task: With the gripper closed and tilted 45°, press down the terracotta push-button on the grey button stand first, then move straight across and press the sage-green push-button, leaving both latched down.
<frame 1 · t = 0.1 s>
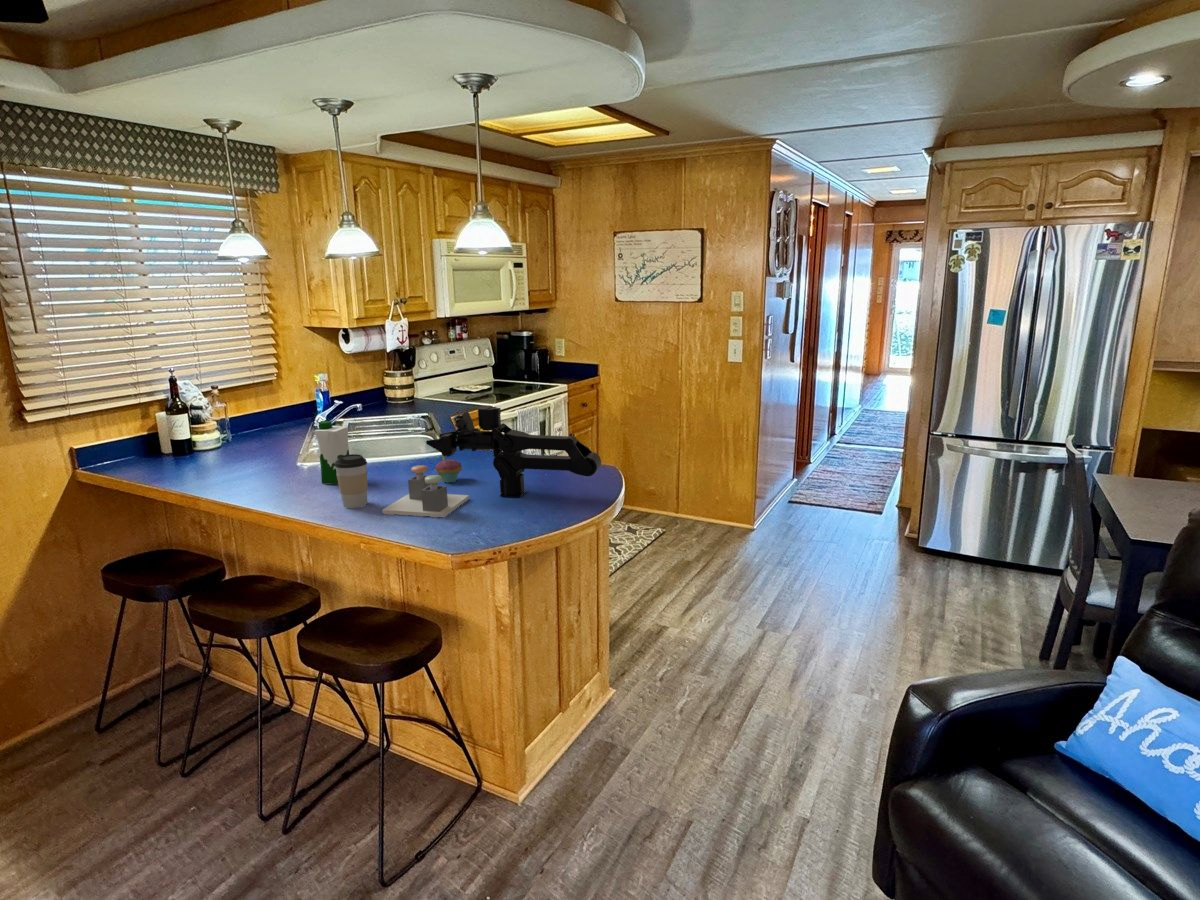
hand: (433, 438, 214), 17 cm above the countertop, tool horizontal, fingers open, 9 cm apart
sage button: (434, 489, 195), point 7 cm above the countertop, slide at 0.0 cm
terracotta button: (420, 478, 206), point 7 cm above the countertop, slide at 0.0 cm
cupcake: (449, 481, 227), on the countertop
coffee cup: (355, 505, 205), on the countertop
grey button stand: (427, 506, 202), on the countertop
milk carton: (337, 481, 229), on the countertop
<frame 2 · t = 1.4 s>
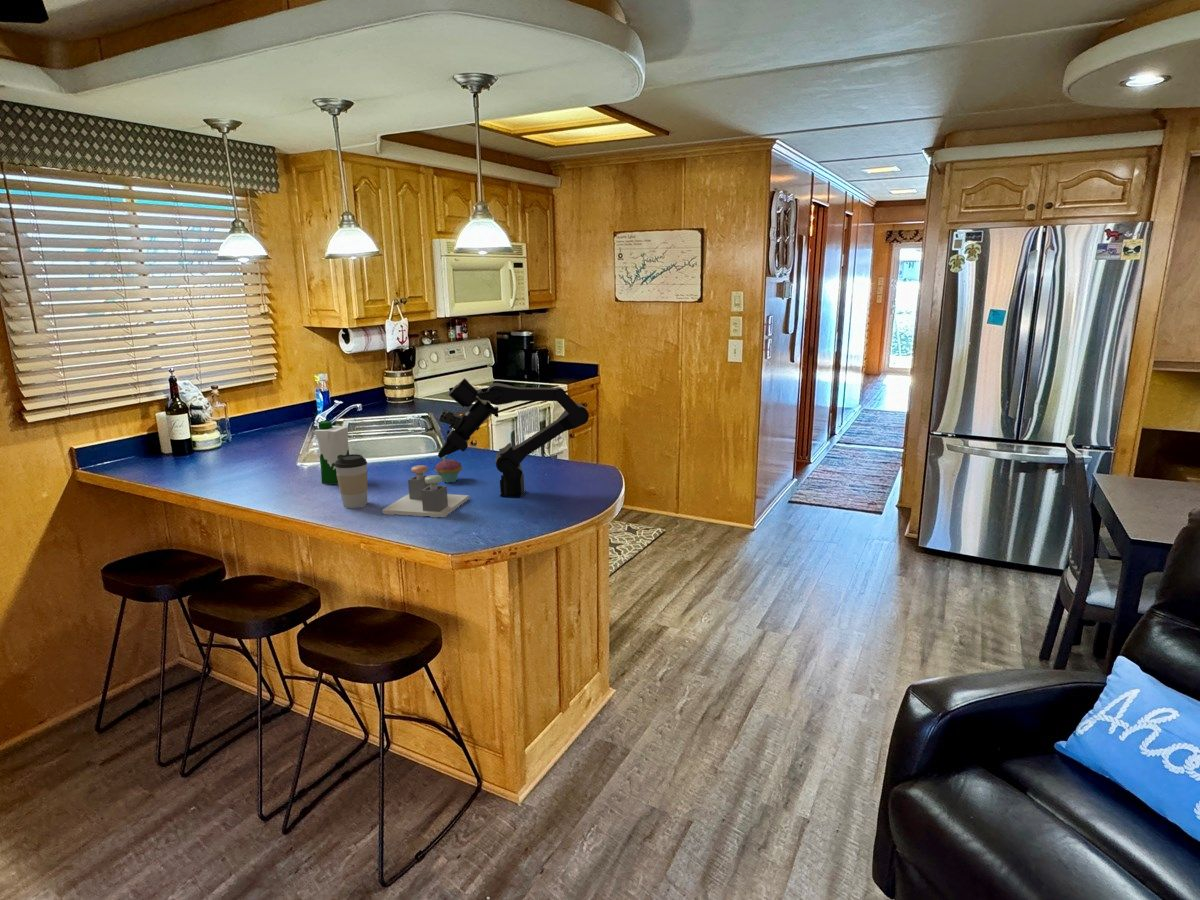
hand: (439, 456, 205), 13 cm above the countertop, tool tilted 45°, fingers closed
nothing on the countertop moved.
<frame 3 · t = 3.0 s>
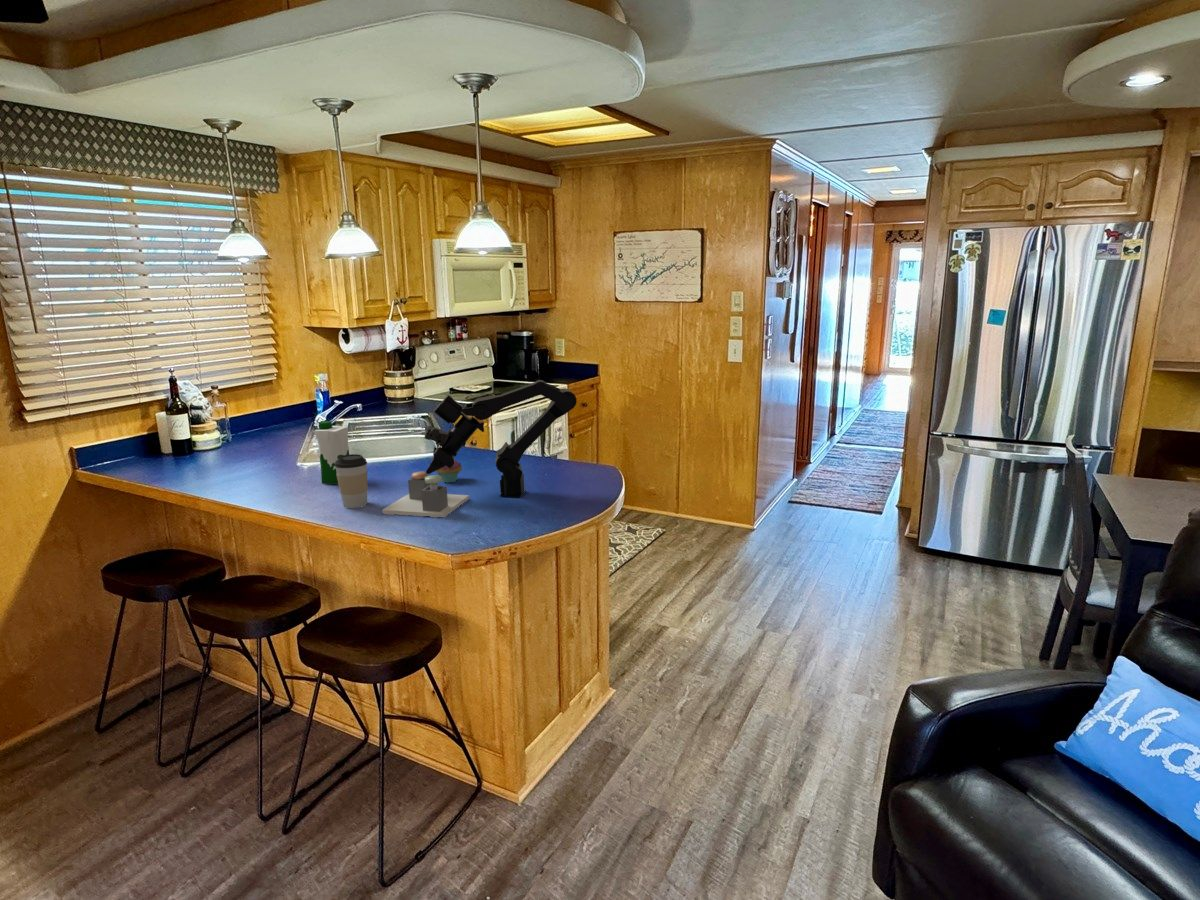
hand: (427, 473, 206), 9 cm above the countertop, tool tilted 40°, fingers closed, pressing on terracotta button
terracotta button: (420, 484, 206), point 5 cm above the countertop, slide at 1.9 cm, touching gripper
everything else where it was.
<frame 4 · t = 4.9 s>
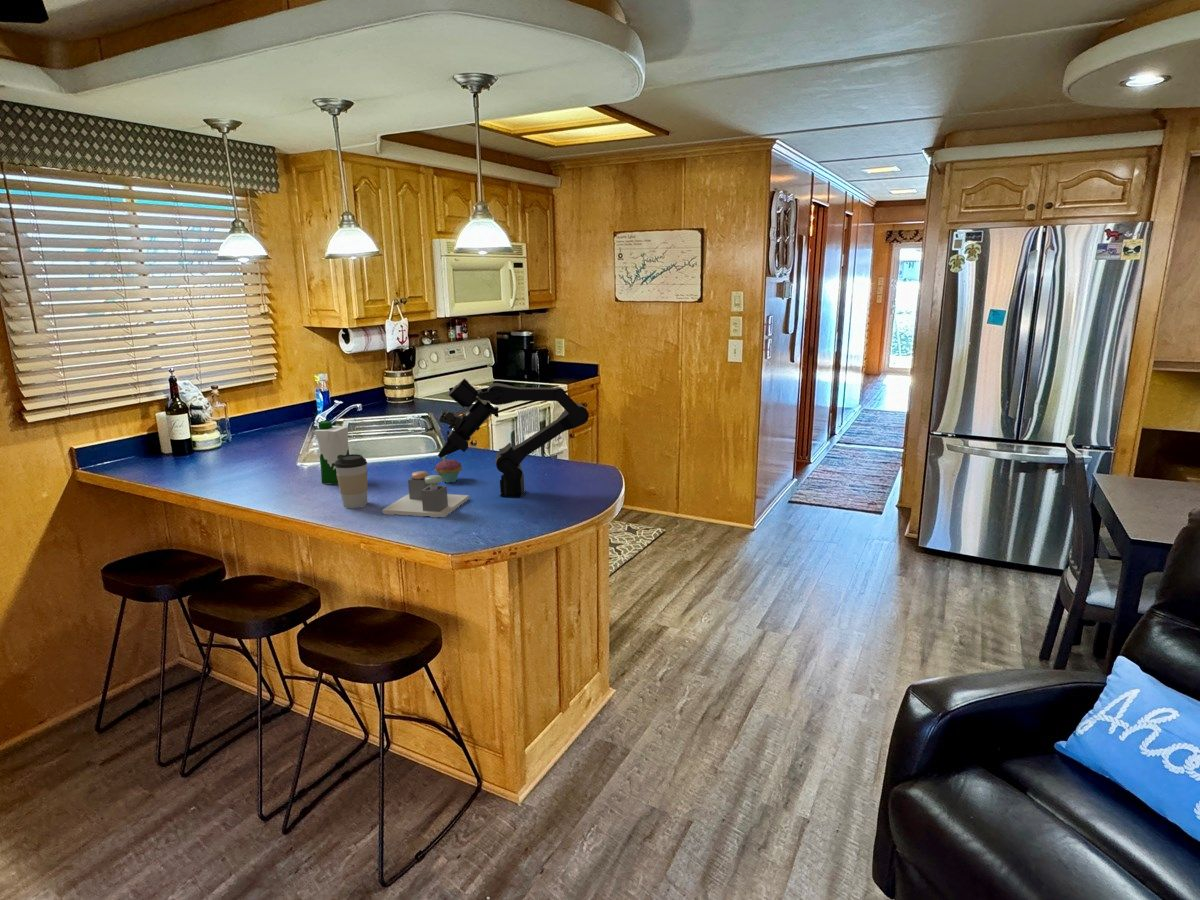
hand: (439, 456, 205), 13 cm above the countertop, tool tilted 45°, fingers closed
terracotta button: (420, 484, 206), point 5 cm above the countertop, slide at 1.8 cm
everything else where it was.
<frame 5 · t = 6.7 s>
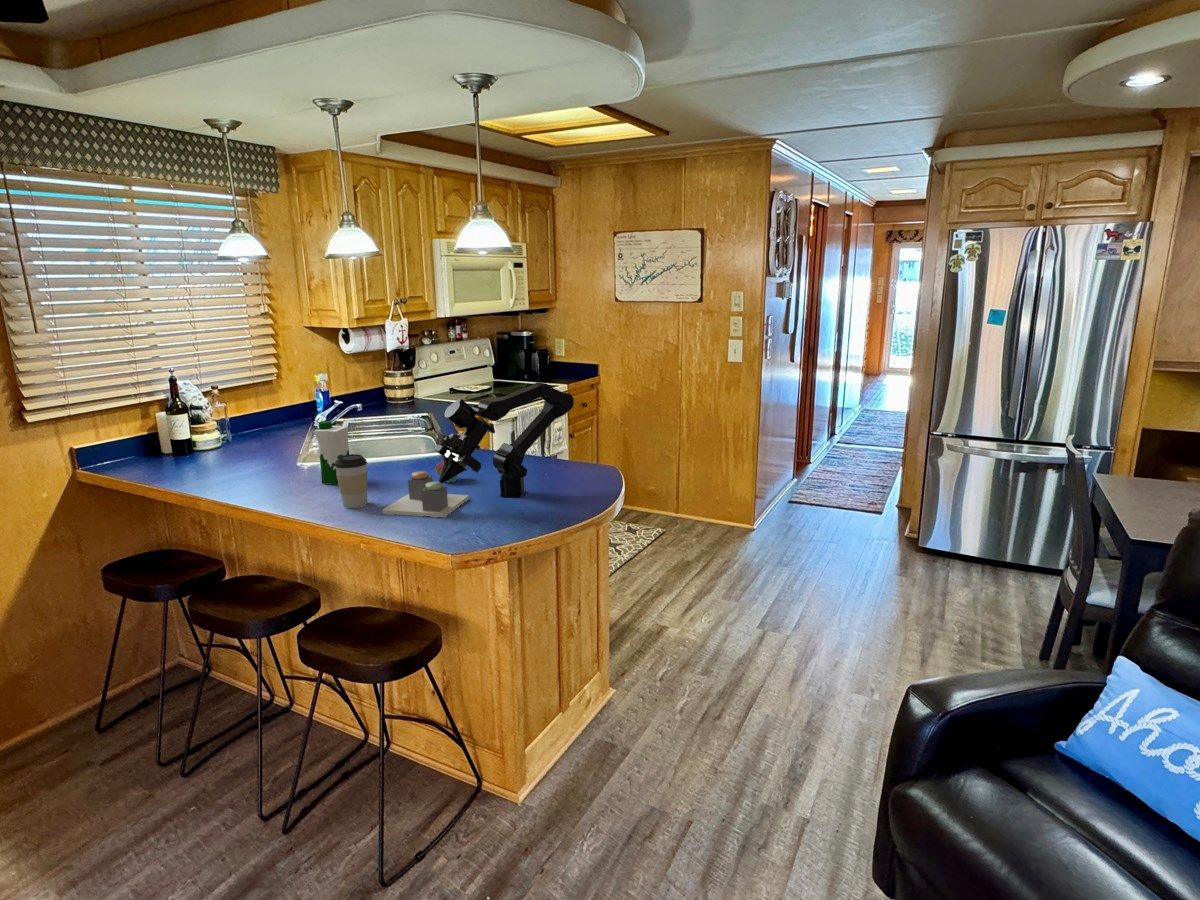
hand: (440, 482, 196), 8 cm above the countertop, tool tilted 40°, fingers closed, pressing on sage button
sage button: (434, 495, 196), point 5 cm above the countertop, slide at 1.9 cm, touching gripper
everything else where it was.
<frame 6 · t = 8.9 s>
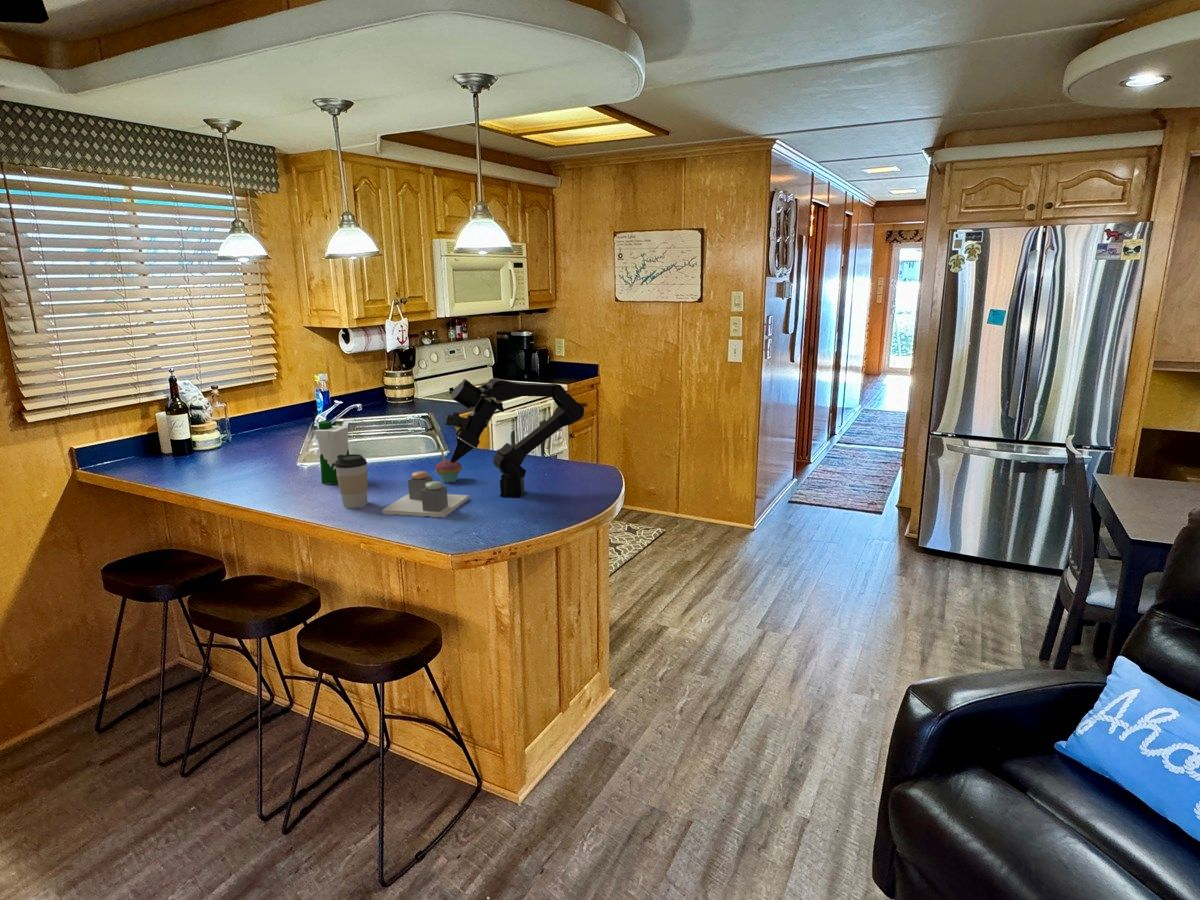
hand: (451, 462, 201), 13 cm above the countertop, tool tilted 35°, fingers closed
sage button: (434, 495, 195), point 5 cm above the countertop, slide at 1.8 cm
everything else where it was.
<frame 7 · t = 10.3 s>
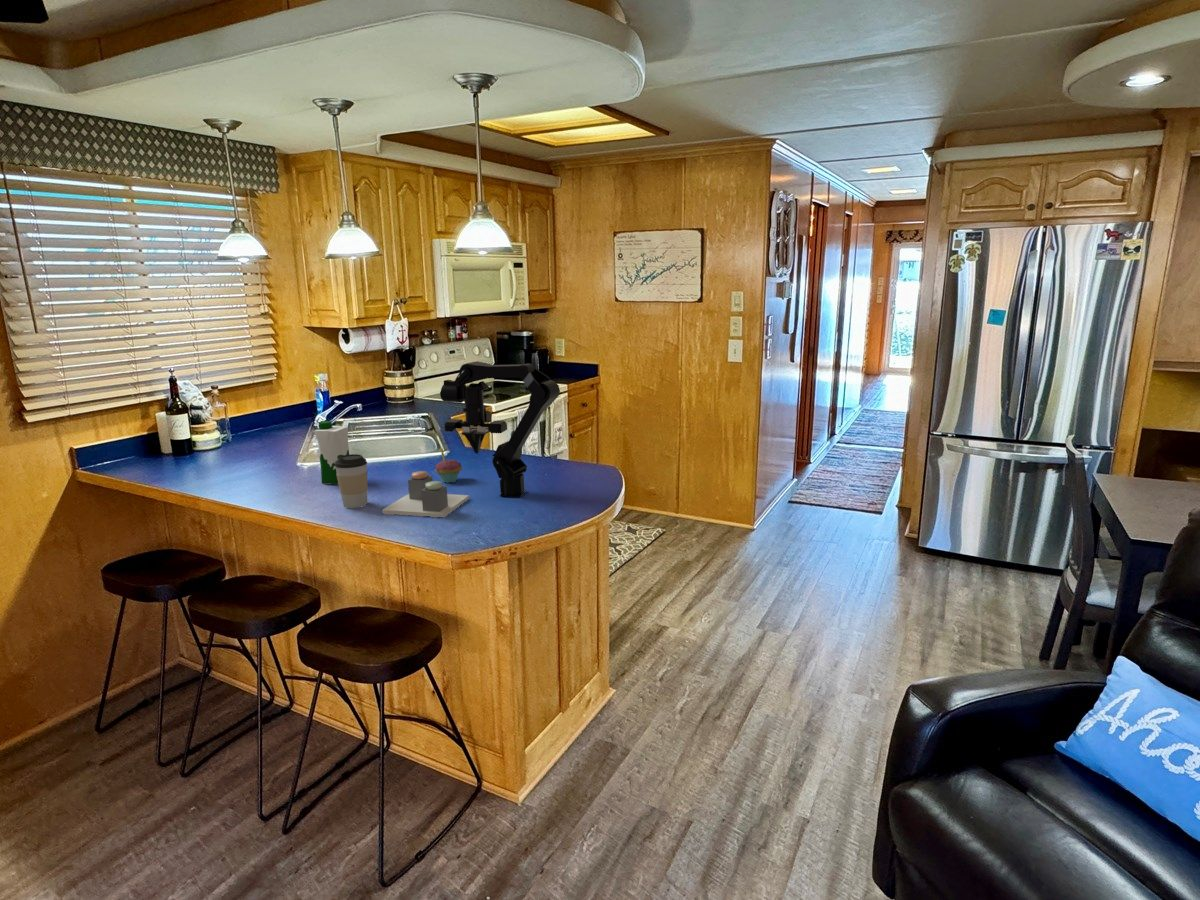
hand: (477, 453, 214), 12 cm above the countertop, tool pointing down, fingers closed
nothing on the countertop moved.
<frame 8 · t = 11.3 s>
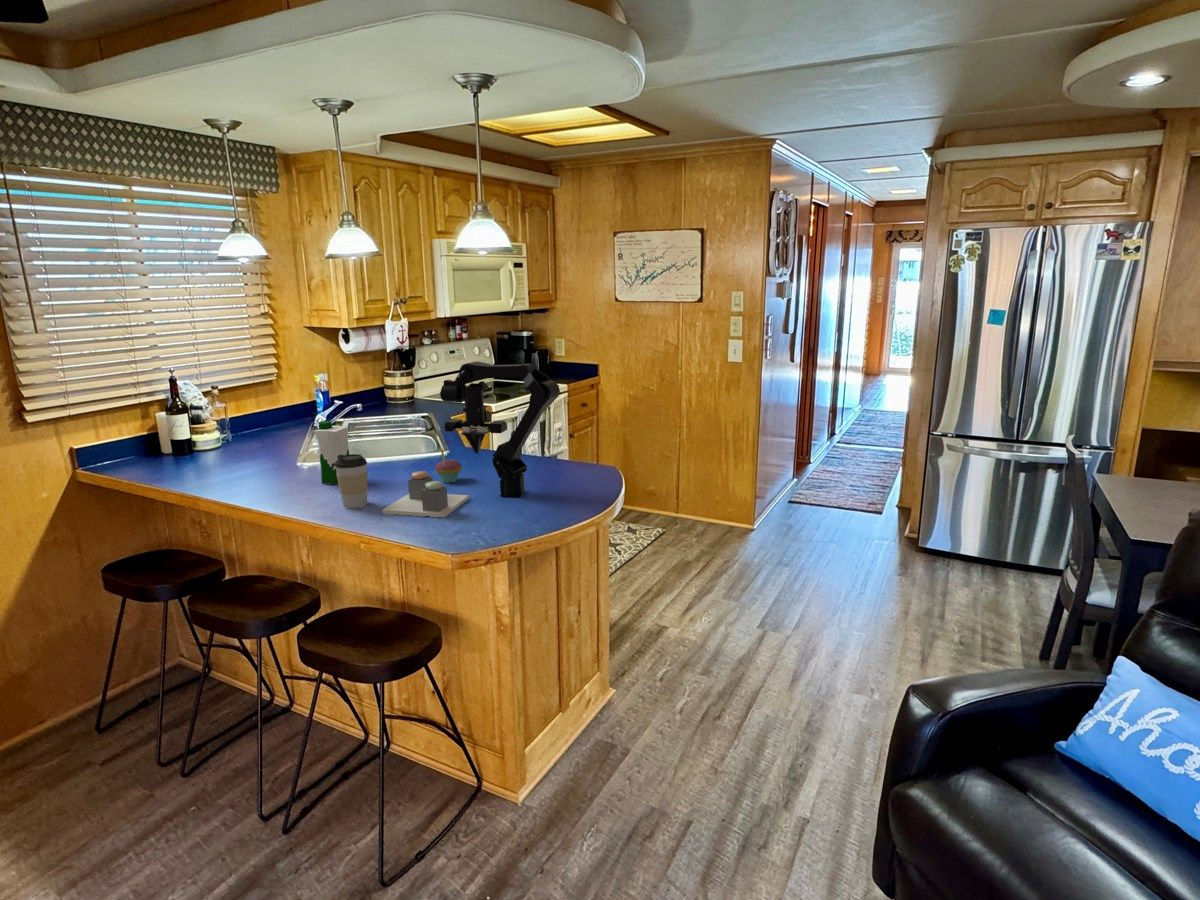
hand: (477, 453, 214), 12 cm above the countertop, tool pointing down, fingers closed
nothing on the countertop moved.
at the end: terracotta button slide at 1.8 cm; sage button slide at 1.8 cm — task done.
